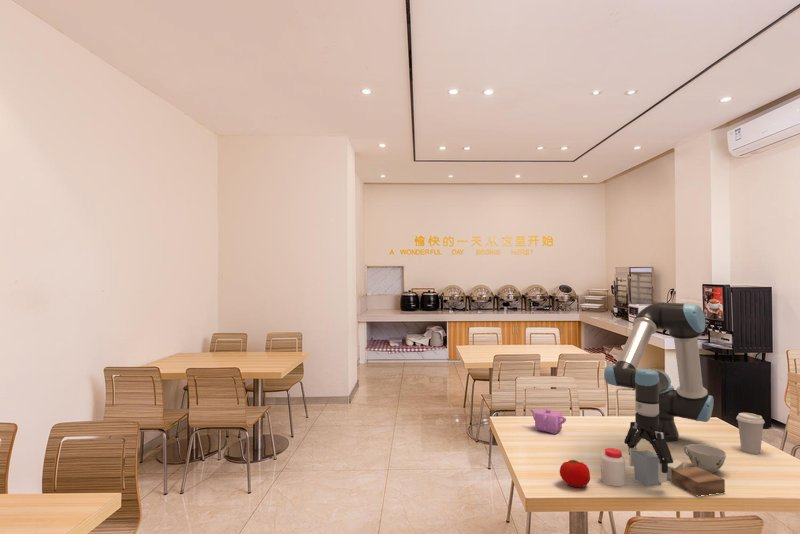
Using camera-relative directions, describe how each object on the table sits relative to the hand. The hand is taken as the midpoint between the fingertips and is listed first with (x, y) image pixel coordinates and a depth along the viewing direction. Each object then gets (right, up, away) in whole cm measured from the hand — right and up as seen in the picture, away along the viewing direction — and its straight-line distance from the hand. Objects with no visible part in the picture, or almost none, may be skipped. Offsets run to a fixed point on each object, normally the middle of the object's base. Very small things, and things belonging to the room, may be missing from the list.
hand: (647, 473), depth 164 cm
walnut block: (+15, -3, -4) cm, 16 cm away
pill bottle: (-12, -3, 0) cm, 13 cm away
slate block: (0, -3, 0) cm, 3 cm away
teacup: (+28, -4, +11) cm, 30 cm away
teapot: (-18, -5, +55) cm, 58 cm away
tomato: (-27, -3, -3) cm, 27 cm away
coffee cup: (+60, -4, +30) cm, 67 cm away
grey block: (+11, -4, +6) cm, 13 cm away
